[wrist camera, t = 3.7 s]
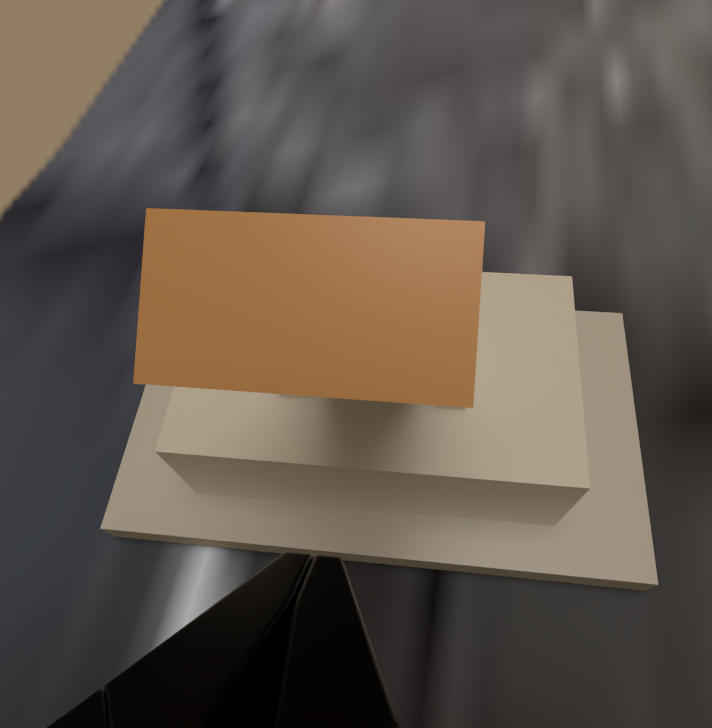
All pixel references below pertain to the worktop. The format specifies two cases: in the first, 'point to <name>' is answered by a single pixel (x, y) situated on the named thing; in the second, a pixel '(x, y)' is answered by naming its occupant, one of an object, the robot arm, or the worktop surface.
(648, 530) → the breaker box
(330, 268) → the lever
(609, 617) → the worktop surface
